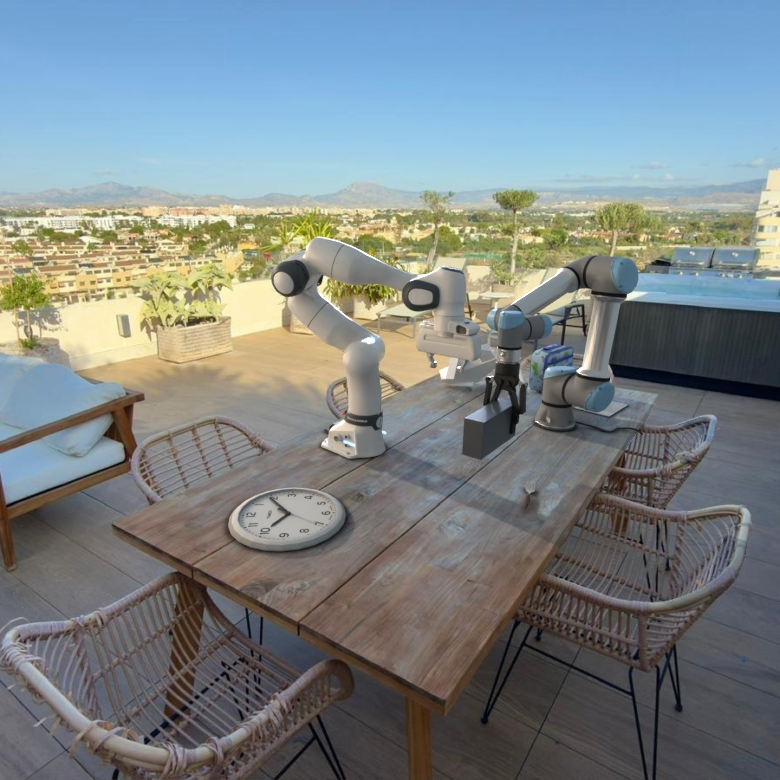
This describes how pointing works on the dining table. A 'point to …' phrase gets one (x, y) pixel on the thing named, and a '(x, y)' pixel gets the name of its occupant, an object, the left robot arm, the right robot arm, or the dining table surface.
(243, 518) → the wall clock
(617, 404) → the invitation card
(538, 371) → the lunch box
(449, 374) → the white plastic object
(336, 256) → the left robot arm
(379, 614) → the dining table surface
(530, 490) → the fork
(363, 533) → the dining table surface
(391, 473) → the dining table surface
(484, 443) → the box
